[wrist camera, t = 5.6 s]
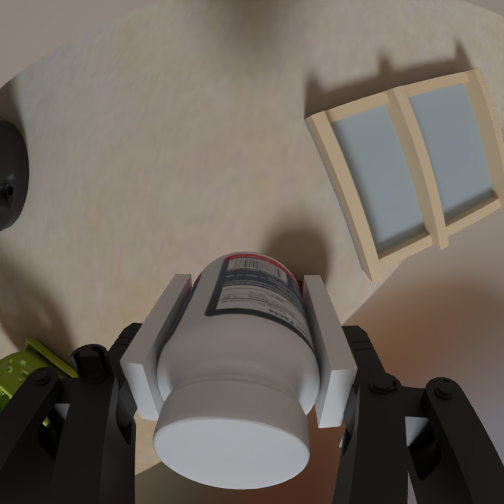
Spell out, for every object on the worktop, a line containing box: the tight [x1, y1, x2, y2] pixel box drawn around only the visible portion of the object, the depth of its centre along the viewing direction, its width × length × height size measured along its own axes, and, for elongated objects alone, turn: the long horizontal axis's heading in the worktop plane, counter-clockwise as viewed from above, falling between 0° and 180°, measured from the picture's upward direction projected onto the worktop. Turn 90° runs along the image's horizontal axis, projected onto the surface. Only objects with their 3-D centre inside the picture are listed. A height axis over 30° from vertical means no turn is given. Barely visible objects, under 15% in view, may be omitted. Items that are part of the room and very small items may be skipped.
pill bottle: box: [153, 252, 320, 489], centre depth 10 cm, size 5×5×9 cm
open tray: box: [304, 68, 504, 283], centre depth 24 cm, size 16×21×4 cm
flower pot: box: [0, 339, 78, 426], centre depth 31 cm, size 14×14×13 cm
